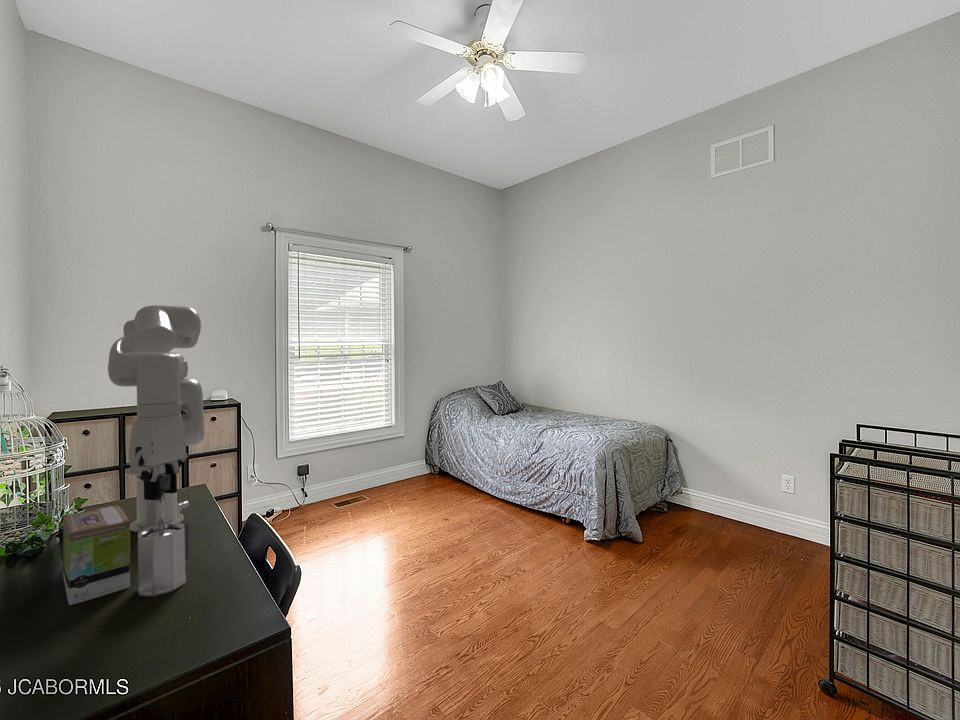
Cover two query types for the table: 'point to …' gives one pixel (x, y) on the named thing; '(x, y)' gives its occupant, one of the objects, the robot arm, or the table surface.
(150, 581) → the carafe
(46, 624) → the table surface
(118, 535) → the tea box
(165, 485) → the plunger
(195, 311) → the robot arm
